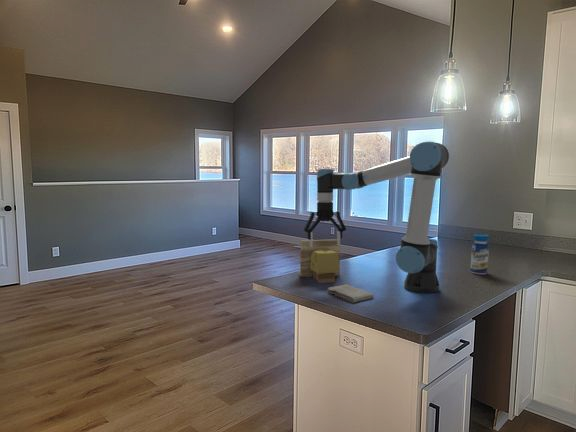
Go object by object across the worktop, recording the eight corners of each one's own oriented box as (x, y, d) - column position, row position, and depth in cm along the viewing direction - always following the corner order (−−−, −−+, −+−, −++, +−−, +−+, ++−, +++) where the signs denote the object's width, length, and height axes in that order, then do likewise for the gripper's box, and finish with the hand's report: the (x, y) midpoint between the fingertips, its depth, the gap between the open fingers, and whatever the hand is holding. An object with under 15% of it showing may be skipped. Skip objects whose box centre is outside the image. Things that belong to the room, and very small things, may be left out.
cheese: (309, 269, 205) (310, 249, 204) (329, 267, 209) (330, 248, 207) (317, 274, 195) (318, 253, 194) (338, 272, 199) (339, 252, 198)
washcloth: (345, 288, 189) (345, 282, 188) (374, 299, 174) (374, 292, 174) (324, 293, 182) (325, 286, 181) (353, 304, 167) (354, 297, 167)
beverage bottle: (486, 271, 221) (488, 234, 219) (489, 275, 213) (491, 236, 211) (468, 270, 224) (471, 233, 221) (471, 274, 215) (473, 235, 213)
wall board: (347, 281, 198) (348, 244, 196) (306, 283, 195) (306, 245, 193) (336, 273, 214) (337, 238, 212) (298, 274, 211) (299, 239, 209)
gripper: (347, 200, 204) (347, 243, 206) (297, 201, 199) (297, 245, 202) (352, 201, 196) (352, 246, 199) (301, 202, 192) (301, 248, 194)
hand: (324, 245), depth 200 cm, fingers open, 13 cm apart
